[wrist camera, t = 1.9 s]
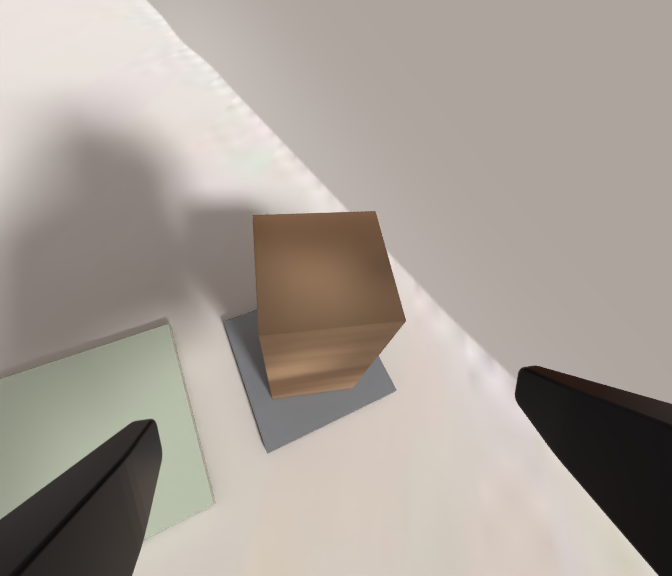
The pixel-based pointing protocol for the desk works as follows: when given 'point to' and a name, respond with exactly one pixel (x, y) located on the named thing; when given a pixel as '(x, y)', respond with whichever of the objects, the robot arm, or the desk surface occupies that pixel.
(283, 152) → the desk surface
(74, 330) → the desk surface
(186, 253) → the desk surface
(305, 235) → the walnut block
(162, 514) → the sage plate
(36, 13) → the desk surface
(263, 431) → the slate tile
